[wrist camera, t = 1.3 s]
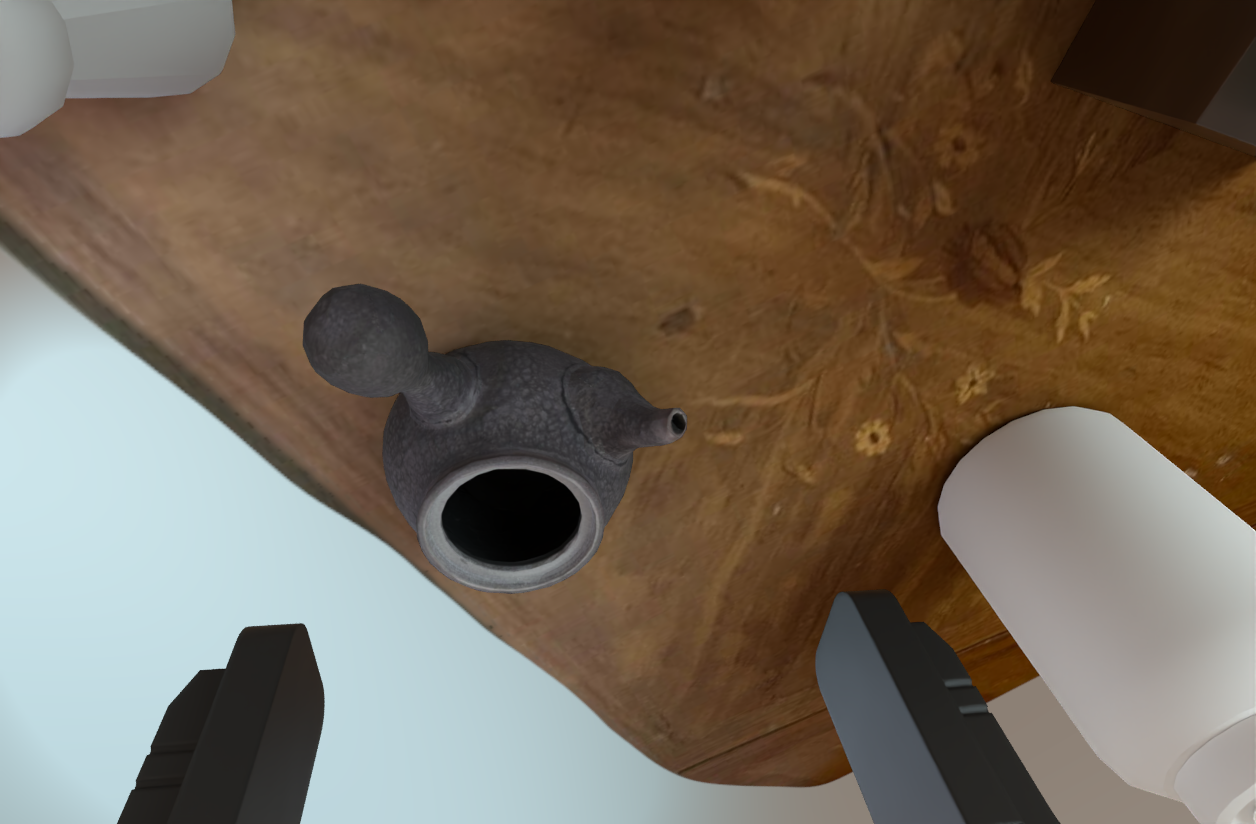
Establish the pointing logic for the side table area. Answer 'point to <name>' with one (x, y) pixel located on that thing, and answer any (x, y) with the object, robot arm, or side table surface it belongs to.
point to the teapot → (489, 440)
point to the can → (1120, 598)
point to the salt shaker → (105, 52)
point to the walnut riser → (1172, 64)
